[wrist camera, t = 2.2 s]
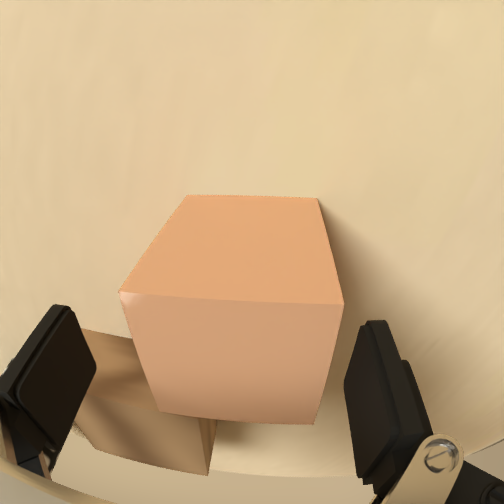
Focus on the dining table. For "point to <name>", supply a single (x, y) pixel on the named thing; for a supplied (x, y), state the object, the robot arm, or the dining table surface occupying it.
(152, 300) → the peach matte cube
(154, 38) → the dining table surface
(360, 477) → the robot arm
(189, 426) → the walnut block
